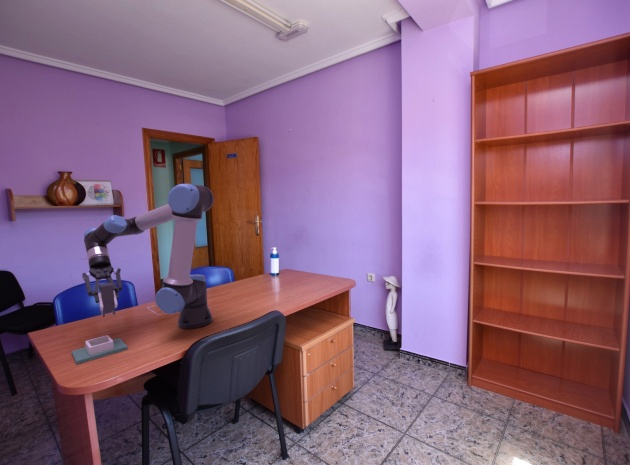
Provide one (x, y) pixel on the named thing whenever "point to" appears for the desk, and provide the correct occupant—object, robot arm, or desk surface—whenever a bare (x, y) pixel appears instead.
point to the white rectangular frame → (153, 311)
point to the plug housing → (107, 298)
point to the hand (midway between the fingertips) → (109, 307)
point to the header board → (98, 349)
